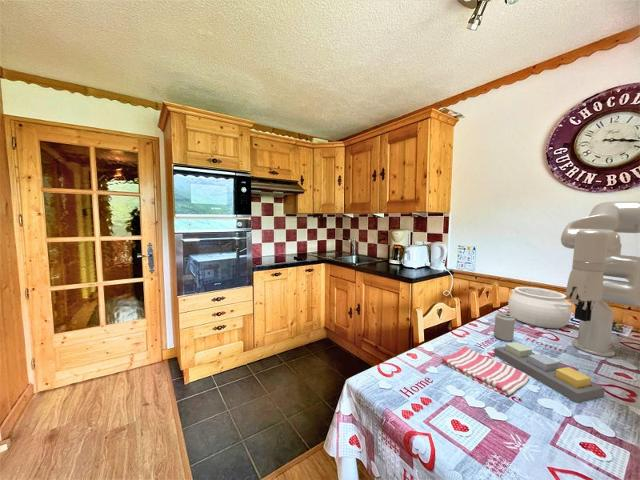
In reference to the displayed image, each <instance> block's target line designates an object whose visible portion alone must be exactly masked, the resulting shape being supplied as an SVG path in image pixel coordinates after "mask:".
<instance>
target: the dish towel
mask: <svg viewBox="0 0 640 480" xmlns="http://www.w3.org/2000/svg"><path fill="white" fill-rule="evenodd" d="M441 360H442V364H443V365H445V366H447V367H449V368H450V369H452V370H453V371H456V372H458V373H460V374H462V375H464V376H466V377H468V378H469V379H471V380H474V381H475V382H478V383H481V384H482V385H484V386H486V387H488V388H489V389H492V390H494V391H495V392H498V393H500V394H503V395H505V396H507V397H508V396H511V395H512V394H513V393H515V392H516V391H517V390H519V389H520V388H522V387H523V386H525V385H527V383H528V381H529V380H530V379H531V378H530V375H528V374H526V373H524V372H523V371H521V370H519V369H517V368H516V367H514V366H512V365H508V364H506V363H502V362H499V361H497V360H494V359H493V358H491V357H487V356H484V355H483V354H481V353H480V352H478V351H475V350H473V349H471V348H469V347H468V346H467V345H464V346H461V348H459V349H458V350H457V351H456V352H453V353H451V354H449V355H444V356H442V358H441Z"/></svg>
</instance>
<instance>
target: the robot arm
mask: <svg viewBox="0 0 640 480" xmlns="http://www.w3.org/2000/svg"><path fill="white" fill-rule="evenodd" d="M618 233H620V234H640V201H638V200H635V201H631V200H630V201H606V202H601V203H598V204H597V205H595V206H594V207H593V208H592V210H591V211H590V213H589V215H588V216H584V217H582V218H578V219H576V220H573V221H570V222H569V223H568V224H567V225H565V228H564V229H563V231H562V234H561V237H560V242H561V245H562V246H563V247H564V248H566V249H572V250H573V254H572V255H573V256H572V267H571V270H570V273H569V276H568V279H567V284H566V290H565V295H566V298H568V299H570V301H569V303H571V304H574V307H575V308H574V309H575V310H574V317H573V318H574V319H576V320H579V324H578V325H579V326H578V333H577V334H578V335H577V336H578V337H577V339H574V340H573V341H572V342H571V343H572V346H573V347H575V348H577V349H578V350H580V351H582V352H586V353H588V354H592V355H595V356H600V357H605V358H607V357H609V358H610V357H613V356H615V353H616V352H615V350H613V349H612V348H611V345H615V343H616V342H615V340H613V339H612V334H613V333H612V331H613V323H614V315H615V314H614V311H613V309H612V308H611V307H610V305H609V304H608V303H613V304H618V305H622V306H628V307H629V306H631V307H640V256H635V255H623V254H621V252H622V247H623V246H622V243H621V235H620V234H618ZM604 276H605V277H610V278H611V279H610V278H604ZM612 278H620V279H625V280H619V279H612Z"/></svg>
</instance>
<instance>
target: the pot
mask: <svg viewBox="0 0 640 480" xmlns="http://www.w3.org/2000/svg"><path fill="white" fill-rule="evenodd" d="M566 298H567V297H566V294H564V293H562V292H558V291H555V290H552V289H551V290H550V289H546V288H540V287H531V286H517V287H515V288H514V289H511V295H510V296H509V298H508V301H507V302H508V303H507V304H508V305H507V306H508V307H507V308H508V311H509V313H510V314H512V315H514V316H513V317H514V318H515V320H517V321H519V322H521V323H524V324H527V325H530V326H535V327H538V328H539V327H540V328H546V329H561V328H564V327H565V326H567V324H569V322H570V320H571V316H572V310H571V307H572V303H571V302H570V301H569V302H568V301H567V299H566Z"/></svg>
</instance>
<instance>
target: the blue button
mask: <svg viewBox="0 0 640 480" xmlns="http://www.w3.org/2000/svg"><path fill="white" fill-rule="evenodd" d="M528 363H530V364H532V365H534V366H536V367H537V368H539V369H541V370H543V371H545V372H549V371H555V370H556V369H558V365H559V366H560V362H559V361H557V360H555V359H553V358H551V357H548V356H547V355H544V354H542V353H535V354H534V355H528Z"/></svg>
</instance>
